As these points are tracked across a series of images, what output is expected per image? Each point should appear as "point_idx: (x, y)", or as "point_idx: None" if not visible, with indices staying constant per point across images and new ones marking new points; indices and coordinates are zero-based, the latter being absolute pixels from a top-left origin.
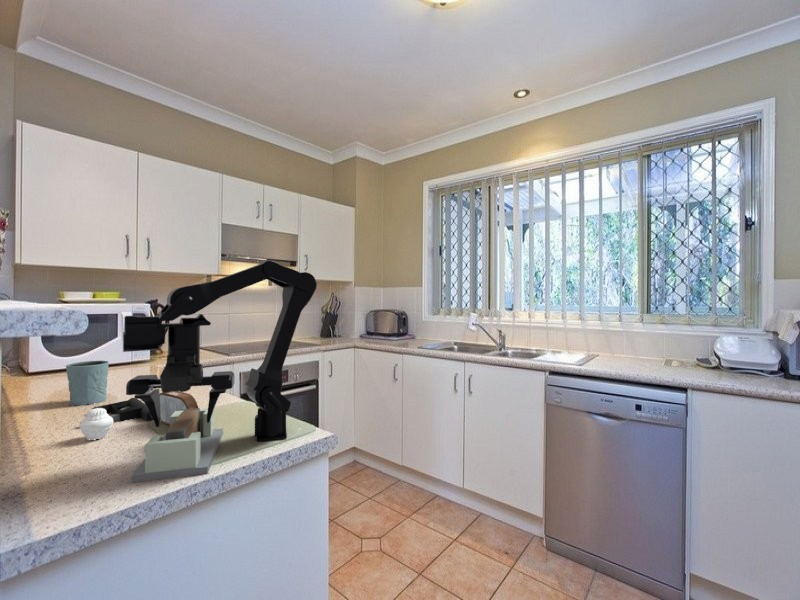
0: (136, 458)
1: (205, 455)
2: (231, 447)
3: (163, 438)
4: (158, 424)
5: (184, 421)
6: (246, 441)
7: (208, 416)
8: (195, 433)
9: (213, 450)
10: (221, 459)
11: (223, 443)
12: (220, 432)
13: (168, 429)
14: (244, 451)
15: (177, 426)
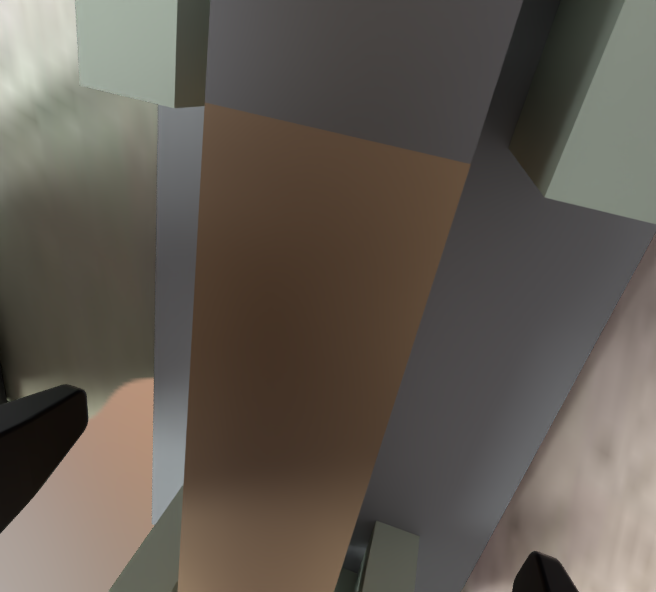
0: (634, 430)
1: (202, 118)
2: (104, 284)
3: (454, 578)
4: (537, 575)
5: (253, 442)
6: (44, 328)
7: (11, 417)
8: (124, 39)
9: (161, 196)
10: (134, 106)
11: (153, 369)
12: (157, 476)
13: (456, 199)
14: (26, 175)
15: (325, 284)
